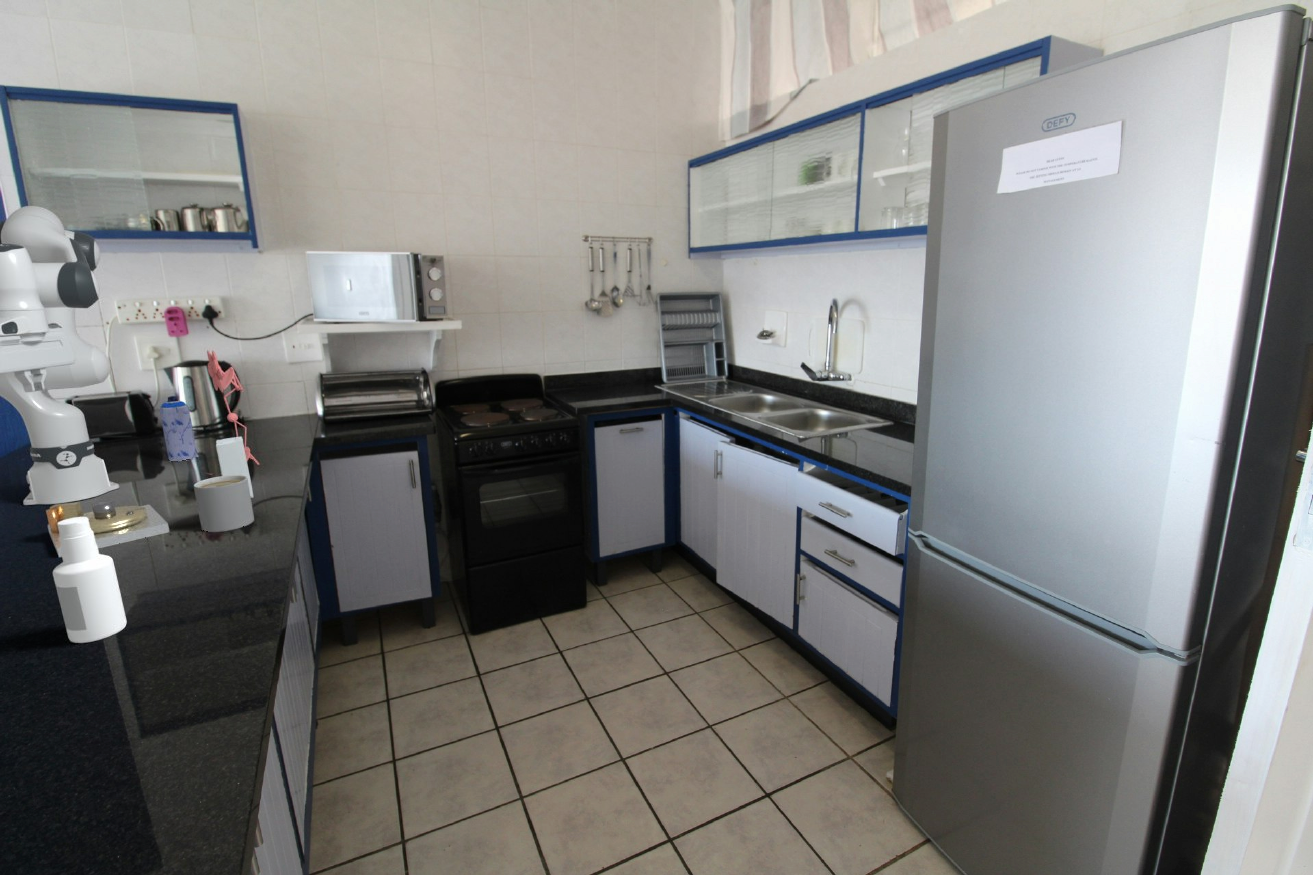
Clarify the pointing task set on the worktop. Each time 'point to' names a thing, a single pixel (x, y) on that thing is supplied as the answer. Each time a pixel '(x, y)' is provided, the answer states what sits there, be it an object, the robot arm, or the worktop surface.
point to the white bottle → (87, 585)
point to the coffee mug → (224, 503)
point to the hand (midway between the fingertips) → (35, 391)
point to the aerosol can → (178, 430)
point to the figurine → (223, 382)
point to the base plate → (133, 532)
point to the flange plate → (117, 519)
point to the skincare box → (233, 458)
